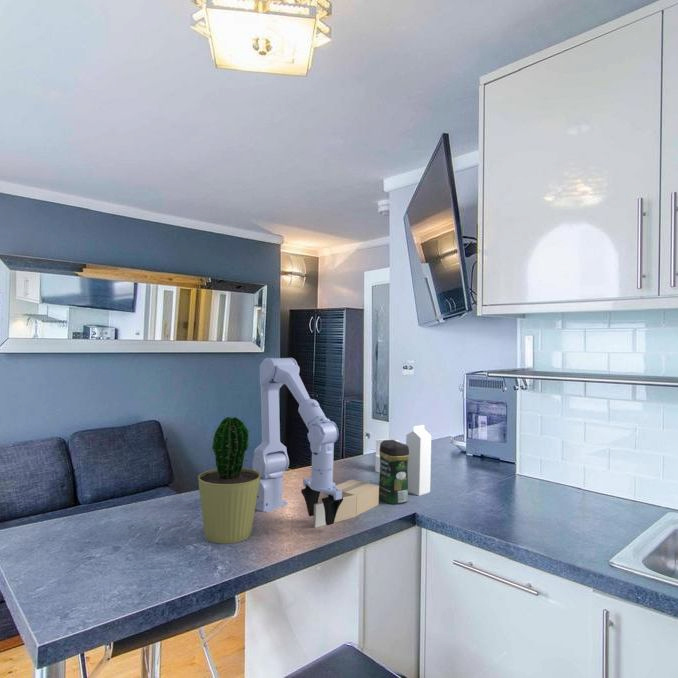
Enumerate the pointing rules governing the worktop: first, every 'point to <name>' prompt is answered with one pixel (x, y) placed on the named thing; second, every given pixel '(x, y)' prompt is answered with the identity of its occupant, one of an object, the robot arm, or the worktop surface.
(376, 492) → the carton
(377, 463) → the cylinder with rectangular tab
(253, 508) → the potted cactus
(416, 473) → the milk
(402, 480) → the coffee jar
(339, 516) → the beige rectangular panel
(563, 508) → the worktop surface
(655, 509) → the worktop surface
